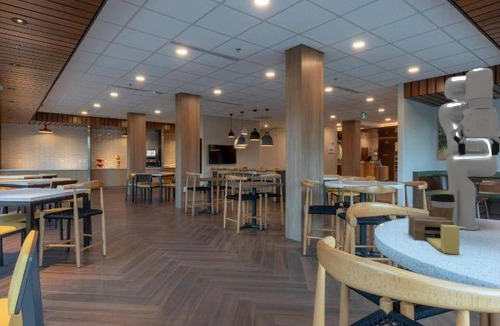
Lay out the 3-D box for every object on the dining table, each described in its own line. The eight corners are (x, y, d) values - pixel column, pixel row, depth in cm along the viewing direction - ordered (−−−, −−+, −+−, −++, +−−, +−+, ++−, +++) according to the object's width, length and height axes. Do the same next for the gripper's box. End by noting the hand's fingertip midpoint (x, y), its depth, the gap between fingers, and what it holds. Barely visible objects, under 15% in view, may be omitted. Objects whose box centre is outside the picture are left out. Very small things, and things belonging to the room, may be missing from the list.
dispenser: (408, 233, 118) (408, 215, 118) (443, 235, 115) (443, 217, 115) (415, 240, 108) (415, 220, 108) (454, 242, 105) (454, 222, 105)
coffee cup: (458, 234, 117) (459, 195, 117) (434, 233, 119) (434, 195, 119) (449, 230, 126) (449, 193, 126) (426, 228, 127) (427, 193, 127)
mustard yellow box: (425, 239, 108) (425, 216, 108) (441, 240, 107) (441, 217, 107) (442, 252, 92) (442, 226, 92) (461, 254, 91) (461, 227, 91)
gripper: (454, 104, 104) (453, 154, 104) (514, 102, 99) (514, 154, 99) (446, 108, 111) (446, 155, 111) (502, 106, 107) (502, 155, 107)
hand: (478, 155), depth 105 cm, fingers open, 9 cm apart
